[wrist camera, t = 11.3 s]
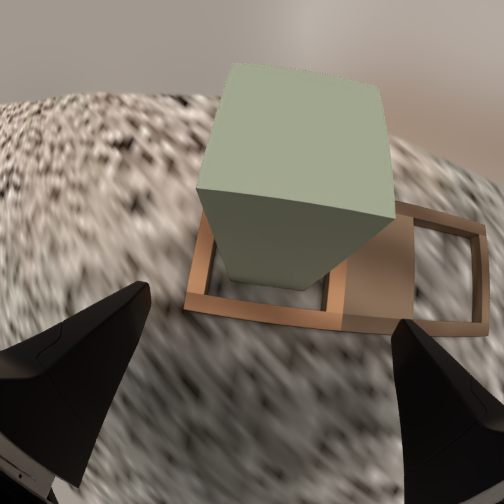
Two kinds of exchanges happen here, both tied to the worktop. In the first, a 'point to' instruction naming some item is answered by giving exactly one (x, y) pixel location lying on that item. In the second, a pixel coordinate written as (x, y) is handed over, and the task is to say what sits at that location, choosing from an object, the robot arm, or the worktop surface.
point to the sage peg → (295, 174)
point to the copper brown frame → (360, 282)
